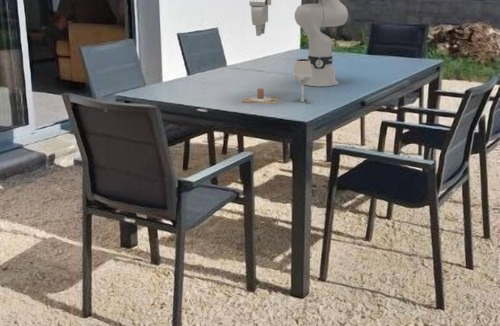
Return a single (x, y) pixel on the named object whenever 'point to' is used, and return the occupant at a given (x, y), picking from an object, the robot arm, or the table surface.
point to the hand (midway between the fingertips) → (260, 34)
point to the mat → (261, 102)
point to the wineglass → (302, 73)
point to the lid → (260, 97)
